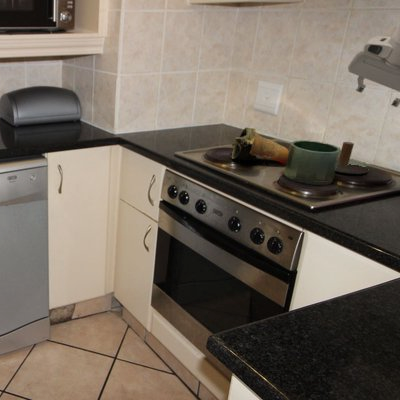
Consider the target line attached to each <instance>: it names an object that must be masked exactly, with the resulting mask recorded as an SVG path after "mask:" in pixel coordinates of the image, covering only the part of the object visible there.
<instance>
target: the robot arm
mask: <svg viewBox="0 0 400 400" xmlns="http://www.w3.org/2000/svg"><path fill="white" fill-rule="evenodd" d="M347 71H348V73H351V74H353V75H356V76H358V77H357V79H356V80H357V88H356V89H355V91H356V92H358V93H360V94H362V93H363V92H364V91H365V89H366V87H367V85H366V84H364V80H369V81H370V82H374V83H376V84H378V85H381V86H384V87H386V88H388V89H391V90H394V91H396V92H399V93H400V25H399V26H398V28H397V29H396V31H395V32H394V33H393V34H392V35H391V36H383V35H382V36H381V35H378V36H377V35H376V36H374V37H372V38H370V39H369V40H368V41H367V42H366V43H365V44H364V46H363V48H361V50H359V51H358V52H357V53H356V54H355V56H353V58H352V59H351V61H350V63H349V64H348V66H347ZM390 105H391V106H392V107H394V108H398V107H399V106H400V98H398V97H396V98H395V99H394V100H393V101H392V103H391V104H390Z"/></svg>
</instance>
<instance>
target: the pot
mask: <svg viewBox="0 0 400 400" xmlns="http://www.w3.org/2000/svg"><path fill="white" fill-rule="evenodd" d="M230 146H231V147H232V155H231V159H235V160H237V161H239V162H240V161H241V162H243V161H251V160H253V161H255V160H256V159H257V158H258V157H259V158H263V157H265V158H267V159H269V158H271V159H273V160H275V161H276V162H279V163H281V164H282V165H286V162H287V157H288V153H289V149H288V148H287V147H285V146H283V145H282V144H279V143H278V142H276V141H273V140H271V139H268V138H265V137H263V136H261V134H259V133H258V132H257V131H256V128H253V127H246V126H245V127H244V128H243V130H242V132H241V133H240V135H239V136H237V137H235V141H234V142H233V143H231V144H230Z"/></svg>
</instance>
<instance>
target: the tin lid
mask: <svg viewBox="0 0 400 400" xmlns="http://www.w3.org/2000/svg"><path fill="white" fill-rule="evenodd" d="M354 147H355V143H354V142H351V141H343V142H342V146H341V148H340V149H341V153H340V156H339V160H338V164H337V165H340V166H348V165H349V164H351V165H359V166H362V167H367V166H366V165H365V164H362V163H360V162H357V161H353V160H351V156H352V153H353V149H354ZM335 173H340V174H348V175H364V174H366V173H369V170H368V171H367V172H363V173H350V172H342V171H335Z"/></svg>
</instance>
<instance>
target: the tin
mask: <svg viewBox="0 0 400 400" xmlns="http://www.w3.org/2000/svg"><path fill="white" fill-rule="evenodd" d="M341 149H342V148H340V147H338V146H336V145H334V144H330V143H328V142H323V141H316V140H303V139H301V140H293V141H291V142H290V145H289V149H288V150H289V153H288V157H287V162H286V163H285V167H284V171H283V175H284V177H285V178H287V180H290V181H292V182H293V181H294V182H296V183H299V184H304V185H310V186H328V185H331V184H332V183H333V182H334V180H335V179H334V178H335V175H336V172H335V171H336V168H337V164H338V160H339V157H340V153H341ZM291 176H292V177H291ZM294 177H296V178H294ZM297 178H302V179H308V180H316V181H328V182H312V181H305V180H301V179H297Z"/></svg>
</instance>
